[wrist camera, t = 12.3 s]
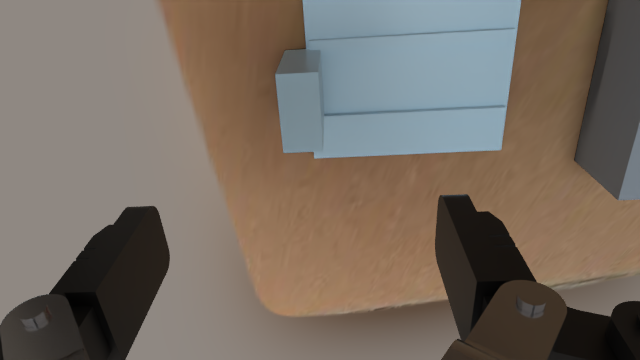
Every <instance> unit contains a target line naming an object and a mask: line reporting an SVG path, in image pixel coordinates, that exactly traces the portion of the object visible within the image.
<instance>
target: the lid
mask: <svg viewBox="0 0 640 360" xmlns="http://www.w3.org/2000/svg"><path fill="white" fill-rule="evenodd" d="M520 6H521V0H303V12H304V26H305V39H306V49H297V50H285V51H284V54H283V56H282V59H281V61H280V64H279V66H278V68H277V71H276V73H275V79H276V88H277V97H278V107H279V116H280V125H281V135H282V144H283V153H297V152H314V159H315V158H336V157H358V156H380V155H402V154H423V153H445V152H467V151H489V150H501V147H502V139H503V132H504V124H505V117H506V109H507V102H508V95H509V87H510V80H511V72H512V65H513V58H514V50H515V43H516V35H517V28H518V20H519V13H520Z"/></svg>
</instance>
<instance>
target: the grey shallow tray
mask: <svg viewBox="0 0 640 360" xmlns="http://www.w3.org/2000/svg"><path fill="white" fill-rule="evenodd" d="M574 160H575V161H576V162H577V163H578V164H579V165H580V166H581V167H582V168H583V169H584V170H585V171H587V172H588V173H589V174H590V175H591V176H592V177H593V178H594V179H595V180H596V181H598V182H599V183H600V184H601V185H602V186H603V187H604V188H605V189H606V190H607V191H608V192H610V193H611V194H612V195H613V196H614V197H615V198H616V199H617V200H635V199H640V0H609V2H608V6H607V11H606V16H605V20H604V25H603V29H602V34H601V39H600V43H599V48H598V53H597V57H596V62H595V67H594V71H593V76H592V81H591V85H590V90H589V94H588V99H587V104H586V108H585V113H584V118H583V122H582V127H581V132H580V136H579V141H578V145H577V150H576V155H575V159H574Z"/></svg>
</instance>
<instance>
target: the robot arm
mask: <svg viewBox="0 0 640 360" xmlns="http://www.w3.org/2000/svg"><path fill="white" fill-rule="evenodd" d="M435 252H436V259H437V264H438V267H439V270H440V273H441V277H442V280H443V283H444V286H445V289H446V293H447V296H448V299H449V302H450V306H451V309H452V312H453V315H454V318H455V321H456V325H457V328H458V331H459V334H460V338H461V340H460V339H457V340H455V341H454V342H453V343H452V345H451V346H450V347H449V349H448V350H447V352H446V354H445V355H444V356H443V358H442V359H441V360H640V301H628V302H623V303H621V304H618V305H617V306H616V307H615V308H614V309H613V312H612V314H611V317H609V316H604V315H599V314H594V313H589V312H584V311H580V310H576V309H573V308H569V307H567V306H566V304H565V302H564V300H563V299H562V298H561V296H560V295H559V294H558V293H557V292H555V291H554V290H552V289H551V288H549V287H547V286H545V285H543V284H541V283H537V282H536V280H535V278H534V276H533V275H532V273H531V271H530V269H529V268H528V266H527V264H526V262H525V261H524V259H523V257H522V255H521V254H520V252H519V250H518V248H517V247H515V243H514V241H513V240H512V238H511V237H510V236H509V233H508V231H507V229H506V227H505V226H504V224H503V222H502V221H500V220H499V219H498V218H496V217H495V216H494V215H492V214H491V213H490V212H488V211H486V212H477V211H476V209H475V207H474V205H473V203H472V201H471V199H470V197H469V196H468V195H467V194H464V195H441V196H440V197H439V200H438V210H437V224H436V237H435ZM169 261H170V255H169V249H168V245H167V241H166V238H165V234H164V230H163V226H162V223H161V219H160V215H159V212H158V210H157V208H156V207H154V206H144V207H127V208H126V209H125V210H124V211H123V212H122V214H121V215H120V217H119V218H118V219H117V221H116V222H115V223H114V225H108V226H107V227H105V228H104V229H102V230H101V231H100V232H98V233H97V234H95V235H94V236H93V237H92V238H91V240H90V241H89V242H88V244H87V245H86V246H85V248H84V251H82V252H81V253H80V254H79V255H78V257H77V258H76V261H74V262H73V263H72V264H71V266H70V267H69V268H68V270H67V271H66V272H65V274H64V275H63V276H62V278H61V279H60V280H59V281H58V283H57V284H56V285H55V287H54V288H53V289H52V290H51V292H50V293H49V294H46V295H41V296H37V297H35V298H32V299H29V300H27V301H25V302H23V303H22V304H20V305H18V306H17V307H15V308H14V309H13V310H12V311H10V312H9V314H7V315H6V317H5V318H4V319H3V321H2V323H1V325H0V360H125V359H126V357H127V355H128V353H129V350H130V348H131V346H132V344H133V342H134V340H135V338H136V336H137V334H138V331H139V330H140V328H141V325H142V323H143V321H144V319H145V317H146V315H147V313H148V311H149V309H150V306H151V304H152V302H153V300H154V298H155V296H156V294H157V292H158V290H159V287H160V286H161V284H162V281H163V279H164V277H165V275H166V273H167V270H168V268H169Z"/></svg>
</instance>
